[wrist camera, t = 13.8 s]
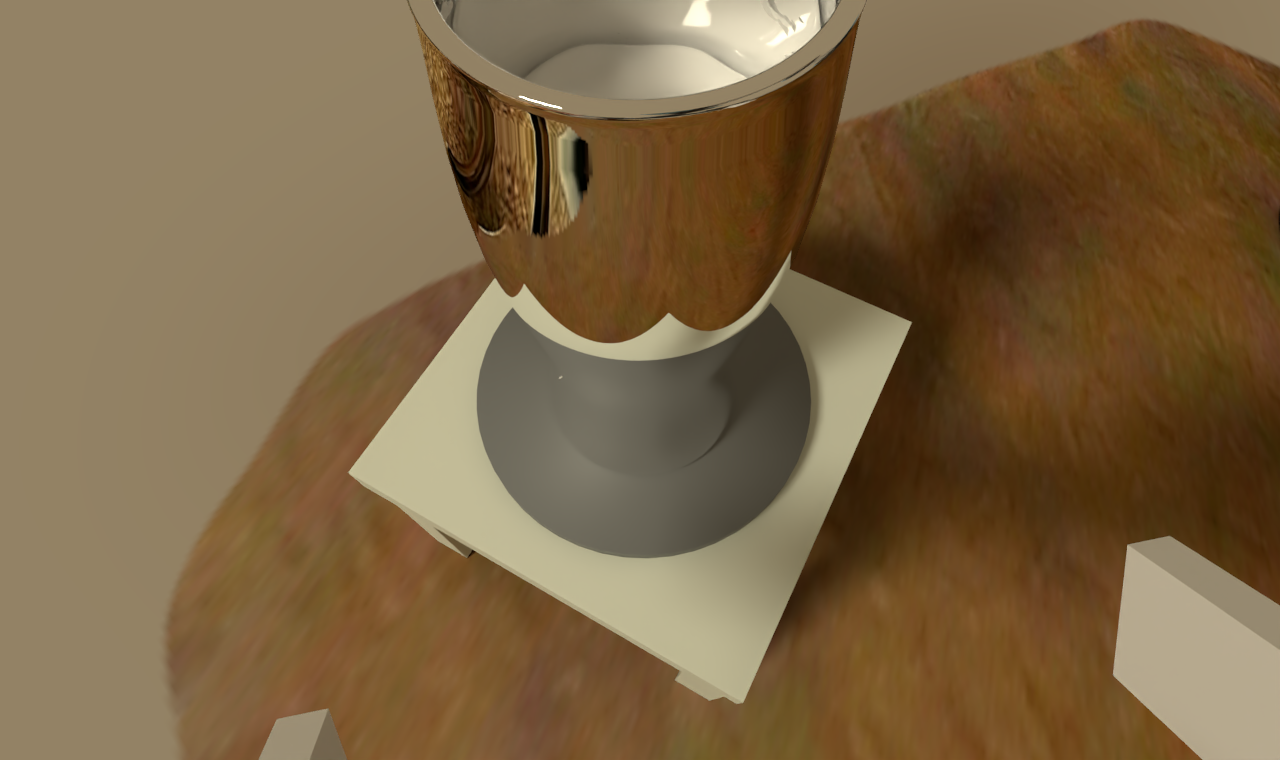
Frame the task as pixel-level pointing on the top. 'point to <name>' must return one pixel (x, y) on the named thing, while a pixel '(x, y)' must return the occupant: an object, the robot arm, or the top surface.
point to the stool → (645, 479)
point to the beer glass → (639, 189)
